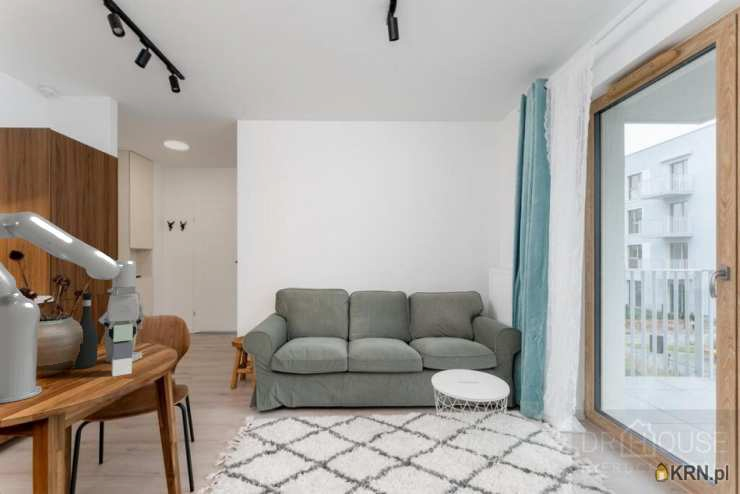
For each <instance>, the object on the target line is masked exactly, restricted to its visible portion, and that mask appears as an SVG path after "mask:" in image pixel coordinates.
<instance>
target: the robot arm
mask: <svg viewBox="0 0 740 494" xmlns="http://www.w3.org/2000/svg"><path fill="white" fill-rule="evenodd" d="M21 238H22V239H25V240H26V241H28V242H29V243H31V244H33V245H35V246H37V247H39V248H40V249H42V250H43V251H44V252H47V253H49V254H50V255H52V256H54V257H56V258H59V259H61V260H64V261H68V262H70V263H73V264H76V265H77V266H79V267H81V268H83V269H85V271H86V272H85V273H86V274H87V275H88V276H89V277H91V278H92V279H94V280H95V279H96V280H105V281H110V280H112V285H111V286H112V287H111V288H108V289H107V293H110V295H109V296H108V297H109V298H108V304H107V312H106V311H105V312H106V313H105V312H104V314H103V315H102V316H100V317H99V318H98V322H99V323H101V324H102V325H104V327H105V326H106V327H107V328H109V337H111V340H112V339H113V334H114V329H113V325H114V323H115V322H119V321H131V322H132V324H133V337H134V335H135V334H136V326H137V325H138V324H139V323H140V322H141V321H142V320H143V321H144V320H145V319H146V318H147V315H145V314H144V312H143V313H142V312H141V311H139V303H140V300H138V295H137V294H135V291H136V285H137V284H136V281H137V279H136V278H137V261H135V260H133V259H117V260H114V259H113V258H112V257H110V256H108V255H107V254H105V253H103V252H102V251H101V250H99V249H97V248H95V247H93V246H91V245H89V244H87V243H86V242H84V241H82V240H81V239H80V238H79V239H78V238H77V237H75V236H73V235H71V234H69V232H67V231H65V230H63V229H62V228H60V227H59V226H57V225H55V224H54V223H52V222H51V221H49V220H48V219H46V217H43V216H41V215H40V214H37V213H35V212H32V211H22V212H16V213H15V212H14V213H13V212H12V213H0V240H5V239H6V240H8V239H21ZM139 315H140V316H141V317H140V318H139ZM106 317H107V319H108V321H110V323H107V322H106V321H105V318H106ZM138 318H139V319H138ZM136 319H138V320H137V321H135V320H136ZM40 320H41V309H40V307H39V305H38V303H37V302H36V301H34V300H33V299H31V298H28V297H25V296H24V294H23V293H22V292H21V291H20V289H19V288H18V287H17V282H16V278H15V277H14V275H12V274H11V273H10V272H9V270H7V268H6V267H5V265H4V264H3V263H2V262H1V261H0V404H5V403H13V402H17V401H23V400H26V399H29V398H33V397H35V396H37V395H39V394H41V392H43V391H42V389H43V387H42V386H39V385H36V384H37V361H38V360H37V359H38V334H39V324H40Z"/></svg>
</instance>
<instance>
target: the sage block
mask: <svg viewBox="0 0 740 494" xmlns="http://www.w3.org/2000/svg"><path fill="white" fill-rule="evenodd" d="M113 329H114V334H113V342H118V341H127V340H132V337H133V324H132V323H131V322H127V323H115V324H114V325H113Z"/></svg>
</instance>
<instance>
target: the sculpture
mask: <svg viewBox="0 0 740 494" xmlns="http://www.w3.org/2000/svg"><path fill="white" fill-rule="evenodd" d="M135 294H137V295H138V300H139V301H141V294H140V292H138V291H137V290H135ZM139 311H141V312H142V313H143V314H144V304H143V303H140V302H139ZM106 312H107V311H105V312H104V314H105V313H106ZM140 317H141V316H140V315H139V318H140ZM139 318H138V319H139ZM138 319H136V320H135V321H137V320H138ZM104 320H105V321H106V322H107V323H110V321H108V319H107V317H106V318H105V319H104ZM143 321H144V320H142V321H141V322H140V323H139V324H138V325H137V326H136V334H135V335H134V337H132V340H131V341H132V342H133V344H132V363H133V362H135V361H137V360H139V359H142V358H143V352H142V351H135V349H136V343H137V336H138V333H139V331H141V330H142V328H143ZM127 322H131V321H119V322H115V323H127ZM115 323H114V324H115ZM131 323H132V322H131ZM112 342H113V339H112V340H111V337H109V328H107V327H106V326H105V325H104V349H105V350H104V351H105V362H106V363H112Z"/></svg>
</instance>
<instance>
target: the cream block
mask: <svg viewBox="0 0 740 494" xmlns="http://www.w3.org/2000/svg"><path fill="white" fill-rule="evenodd" d="M132 370H133V362H132V358H127V359H119V360H113V358H112V362H111V375H112V377H117V376H124V375H129V374H132V373H133V371H132Z"/></svg>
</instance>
